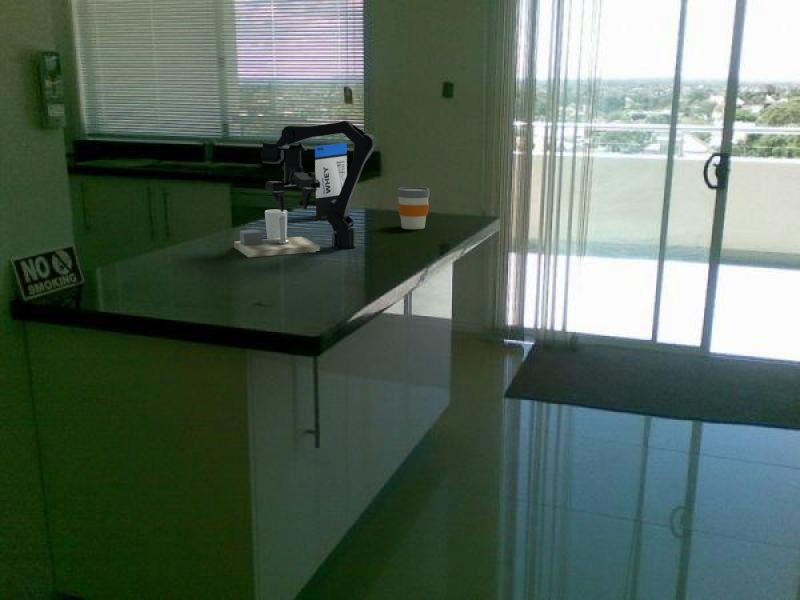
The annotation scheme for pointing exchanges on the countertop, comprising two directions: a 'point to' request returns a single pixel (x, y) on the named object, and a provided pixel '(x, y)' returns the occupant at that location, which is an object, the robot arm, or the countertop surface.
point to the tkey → (282, 234)
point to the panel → (278, 247)
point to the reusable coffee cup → (413, 206)
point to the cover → (251, 237)
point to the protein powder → (329, 175)
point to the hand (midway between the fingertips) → (293, 210)
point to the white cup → (274, 222)
